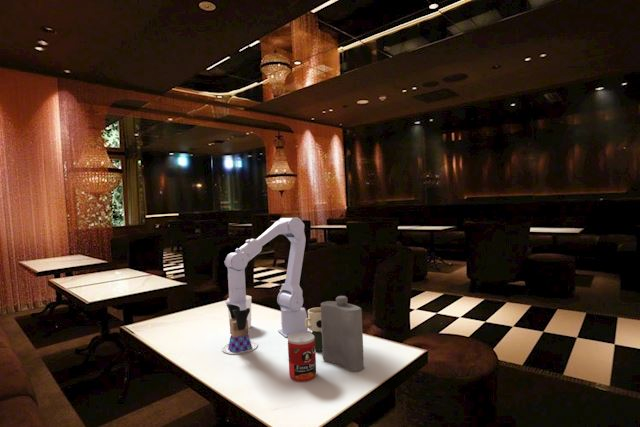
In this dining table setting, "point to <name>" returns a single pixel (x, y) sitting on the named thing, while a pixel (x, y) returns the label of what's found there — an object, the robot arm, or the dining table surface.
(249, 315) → the candle holder
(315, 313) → the character mug
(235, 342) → the pudding
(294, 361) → the canned food
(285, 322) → the robot arm
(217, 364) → the dining table surface
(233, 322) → the walnut block
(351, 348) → the flask
